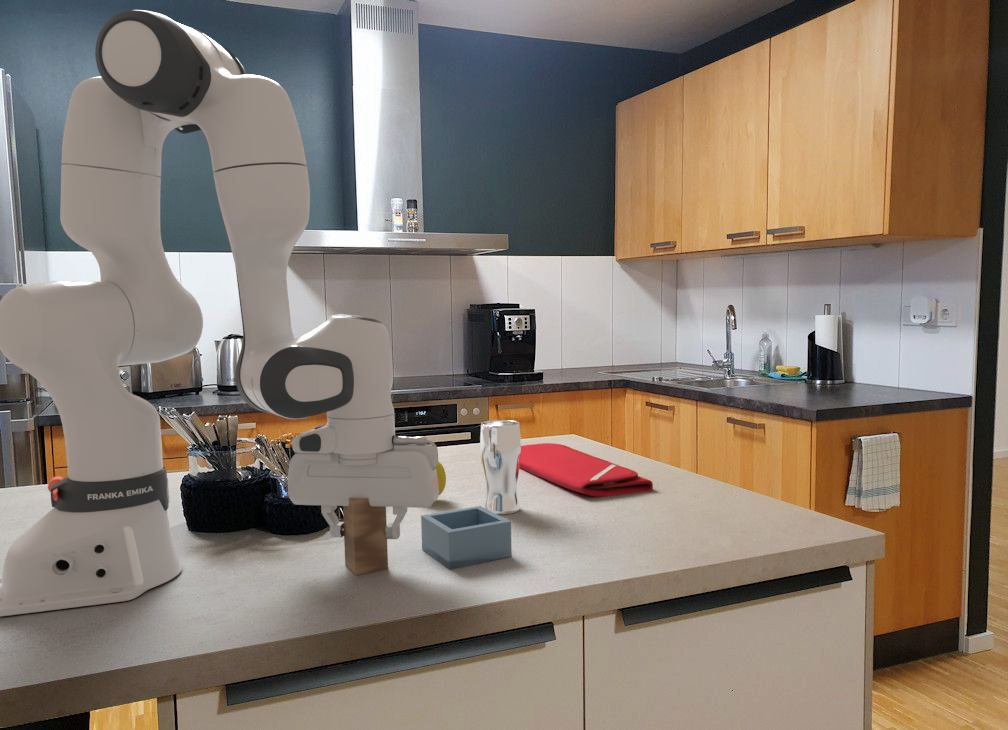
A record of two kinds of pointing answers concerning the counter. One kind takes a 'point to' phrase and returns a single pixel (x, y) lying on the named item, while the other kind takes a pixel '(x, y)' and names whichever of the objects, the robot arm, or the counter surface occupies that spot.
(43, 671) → the counter surface
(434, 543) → the open box
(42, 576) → the robot arm
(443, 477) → the lemon
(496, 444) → the beer glass
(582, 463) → the red folded towel
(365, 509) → the walnut block
